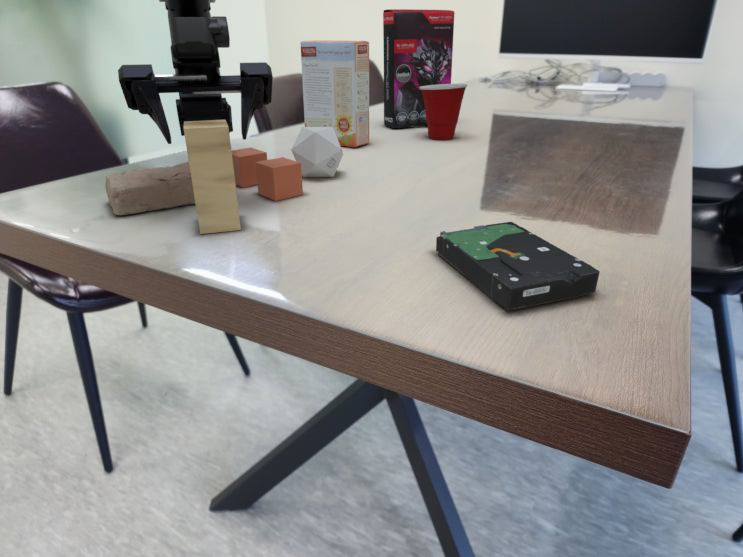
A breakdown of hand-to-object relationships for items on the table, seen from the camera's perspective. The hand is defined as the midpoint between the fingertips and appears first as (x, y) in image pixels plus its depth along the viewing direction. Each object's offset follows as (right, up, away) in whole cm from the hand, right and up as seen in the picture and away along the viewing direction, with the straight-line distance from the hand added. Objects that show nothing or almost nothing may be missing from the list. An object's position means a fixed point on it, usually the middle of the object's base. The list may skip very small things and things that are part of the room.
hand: (207, 139), depth 64 cm
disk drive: (+35, -17, -10) cm, 41 cm away
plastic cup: (+37, +15, +55) cm, 68 cm away
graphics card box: (+33, +23, +70) cm, 80 cm away
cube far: (0, -1, +21) cm, 21 cm away
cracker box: (+13, +13, +50) cm, 53 cm away
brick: (-9, -6, +12) cm, 16 cm away
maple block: (+1, -11, +2) cm, 11 cm away
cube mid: (+7, -5, +14) cm, 17 cm away
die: (+12, 0, +25) cm, 27 cm away
